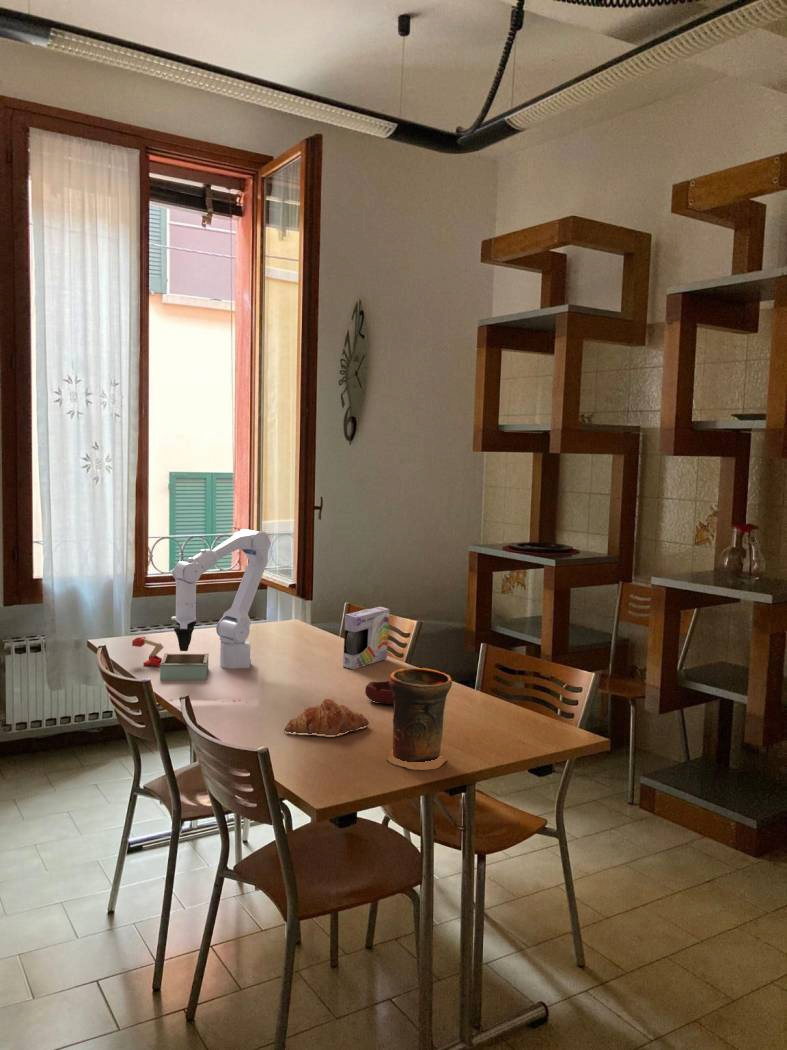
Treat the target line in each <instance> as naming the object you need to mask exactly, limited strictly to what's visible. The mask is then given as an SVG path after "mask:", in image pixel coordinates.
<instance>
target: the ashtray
mask: <svg viewBox="0 0 787 1050" xmlns="http://www.w3.org/2000/svg"><path fill="white" fill-rule="evenodd" d="M389 678H390V676H389V677H388V680H385V681H370V682H368V683H367V685H365V691H364V693H365V696H366V697H367V698H368V699H369V700H370V701H371V702H372V701H375V702H379V703H378V704H384V703H385V704H387V705H394V699H393V691H392V689H391V687H390V685H389Z"/></svg>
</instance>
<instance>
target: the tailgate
mask: <svg viewBox="0 0 787 1050" xmlns="http://www.w3.org/2000/svg"><path fill="white" fill-rule="evenodd" d="M206 666H207V664H160V667H159V668H160V669H159V672H160V673H159V680H160V681H168V680H169V681H176V680H177V681H178V680H179V681H182V680H183V681H193V680H194V681H195V680H197V681H199V680H200V681H202V680H203V681H204V680H207V677H206Z"/></svg>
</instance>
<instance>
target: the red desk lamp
mask: <svg viewBox="0 0 787 1050" xmlns="http://www.w3.org/2000/svg"><path fill="white" fill-rule="evenodd" d="M131 642H132V643H131V644H132V645H131V647H137V648H138V647H139V648H141V647H143V646H144V645H145V644H147V645H150V646H154V648H153V650H151V653H150V654H149V655H148V660H146V661H144V662H143V667H153V668H156V667H157V668H160V664H161V661H162V659H163V657H160V656H158V653H160V652H161V651H162V650H163V649H164V645H162V643H161V642H155V641H153V640H151V639H150V640H149V639H146V636H141V637H136V638H134V639H132V641H131Z"/></svg>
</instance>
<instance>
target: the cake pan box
mask: <svg viewBox="0 0 787 1050" xmlns="http://www.w3.org/2000/svg"><path fill="white" fill-rule="evenodd" d="M389 621H390V608H386V607H383V606H376V607H373V608H368V609H362V610H359V611H355V612H351V613H350V612H349V613H346V614H345V615H344V633H343V634H344V637H343V639H344V642H343V653H342V654H343V655H342V657H343V659H342V660H343V661H342V663H343V664H342V668H344V667H346V668H345V669H348V668H351V669H350V670H352V669H354V670H356V669H355V668H357V669H359V668H358V667H360V668H362V667H361V666H363V667H365V666H364V665H366V666H368V665H367V664H369V665H372V664H375V663H378V662H381V661H383V660H386V659H387V658H388V656H387V655H388V642H389V639H388V638H389V625H390V624H389V623H390V622H389ZM371 663H372V664H371Z"/></svg>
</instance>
